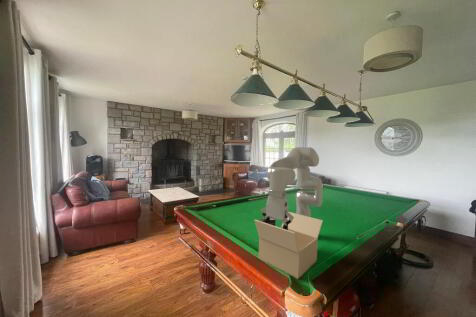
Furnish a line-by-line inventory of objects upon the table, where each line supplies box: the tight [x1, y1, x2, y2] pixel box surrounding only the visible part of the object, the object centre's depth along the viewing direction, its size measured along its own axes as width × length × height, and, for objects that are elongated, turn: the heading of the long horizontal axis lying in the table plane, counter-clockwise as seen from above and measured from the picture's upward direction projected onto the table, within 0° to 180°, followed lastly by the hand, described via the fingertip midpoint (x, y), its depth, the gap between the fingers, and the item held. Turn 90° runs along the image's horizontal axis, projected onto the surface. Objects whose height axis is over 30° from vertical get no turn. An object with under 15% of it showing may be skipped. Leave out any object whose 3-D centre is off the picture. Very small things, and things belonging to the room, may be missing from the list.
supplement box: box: [259, 217, 277, 226], centre depth 114 cm, size 9×5×16 cm, turn 108°
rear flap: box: [280, 211, 324, 238], centre depth 107 cm, size 11×22×1 cm
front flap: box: [254, 219, 299, 253], centre depth 87 cm, size 11×22×1 cm
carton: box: [257, 226, 319, 280], centre depth 96 cm, size 22×22×12 cm
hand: (275, 229), depth 87 cm, fingers open, 9 cm apart
